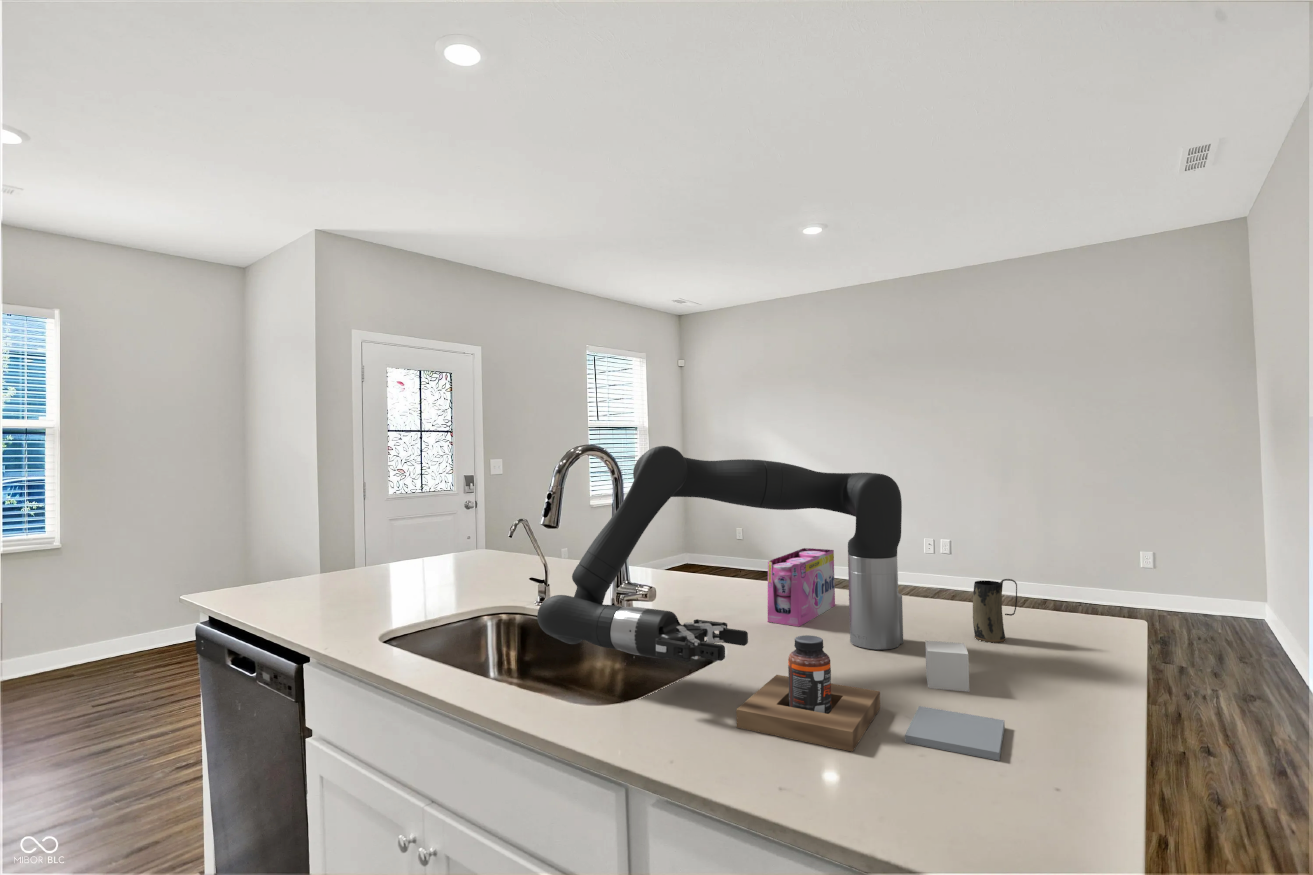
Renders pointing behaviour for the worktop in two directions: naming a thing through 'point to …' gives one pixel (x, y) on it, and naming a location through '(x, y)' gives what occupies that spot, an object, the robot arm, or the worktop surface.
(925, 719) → the slate pad
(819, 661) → the supplement bottle
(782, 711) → the socket block
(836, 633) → the worktop surface
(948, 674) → the white cube
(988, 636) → the mug
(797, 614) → the gum box
